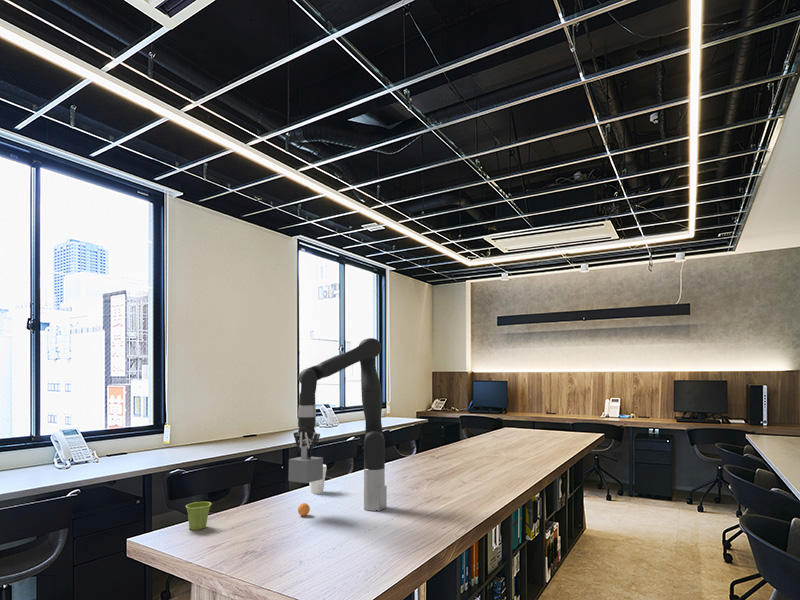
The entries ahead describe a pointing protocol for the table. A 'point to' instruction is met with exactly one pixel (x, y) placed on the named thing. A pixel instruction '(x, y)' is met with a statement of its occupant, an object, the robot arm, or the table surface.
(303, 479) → the grey block with knob
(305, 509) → the ball
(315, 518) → the table surface
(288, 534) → the table surface
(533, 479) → the table surface
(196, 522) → the plant pot
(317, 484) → the foam cup
